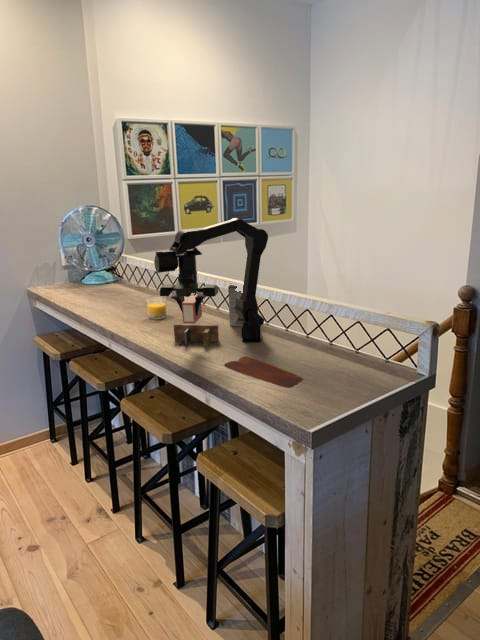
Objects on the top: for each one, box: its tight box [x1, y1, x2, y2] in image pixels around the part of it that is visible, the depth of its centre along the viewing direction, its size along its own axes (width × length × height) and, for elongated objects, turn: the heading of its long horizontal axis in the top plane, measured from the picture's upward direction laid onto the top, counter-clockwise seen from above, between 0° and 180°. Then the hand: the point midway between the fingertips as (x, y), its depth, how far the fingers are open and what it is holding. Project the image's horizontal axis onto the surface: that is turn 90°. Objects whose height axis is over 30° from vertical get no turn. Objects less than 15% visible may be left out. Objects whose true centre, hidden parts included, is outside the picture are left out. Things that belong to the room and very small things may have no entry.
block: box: [181, 295, 203, 324], centre depth 167 cm, size 4×10×7 cm, turn 171°
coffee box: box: [227, 284, 244, 327], centre depth 195 cm, size 9×6×16 cm
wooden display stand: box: [173, 323, 220, 347], centre depth 174 cm, size 16×6×6 cm, turn 81°
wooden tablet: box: [223, 355, 305, 388], centre depth 147 cm, size 27×10×2 cm, turn 44°
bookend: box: [178, 328, 192, 347], centre depth 175 cm, size 3×6×5 cm, turn 171°
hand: (190, 315), depth 165 cm, fingers closed on block, 4 cm apart
